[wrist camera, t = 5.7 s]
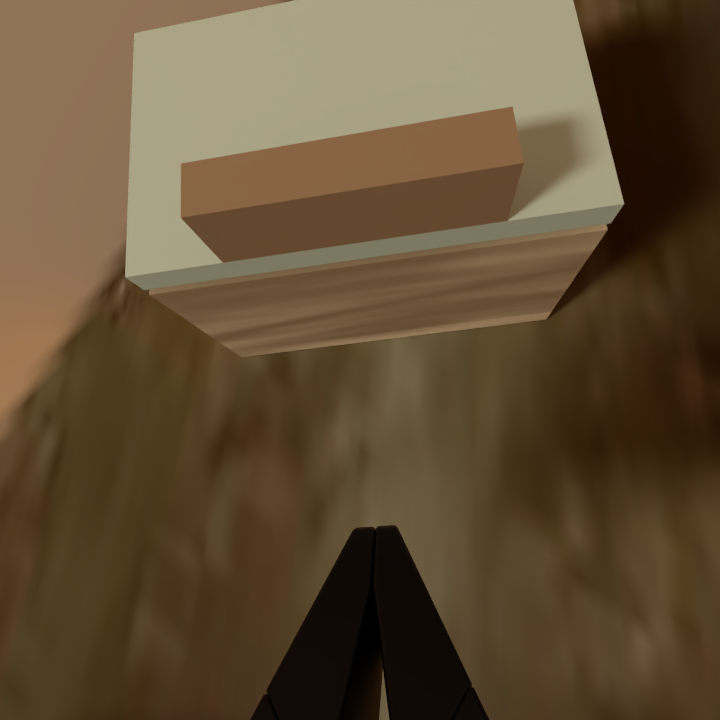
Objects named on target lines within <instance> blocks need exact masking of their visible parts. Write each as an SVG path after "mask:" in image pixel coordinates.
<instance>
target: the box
mask: <svg viewBox="0 0 720 720" xmlns="http://www.w3.org/2000/svg"><path fill="white" fill-rule="evenodd" d="M607 230H608V229H607V225H606V224H602V225H595V226H588V227H581V228H574V229H567V230H560V231H553V232H546V233H539V234H532V235H525V236H518V237H511V238H504V239H497V240H490V241H483V242H476V243H469V244H462V245H455V246H448V247H441V248H434V249H427V250H420V251H413V252H406V253H399V254H392V255H385V256H378V257H371V258H364V259H357V260H350V261H343V262H336V263H329V264H322V265H315V266H308V267H301V268H294V269H287V270H280V271H273V272H266V273H259V274H252V275H245V276H238V277H231V278H224V279H217V280H210V281H203V282H196V283H189V284H182V285H175V286H168V287H161V288H154V289H149V295H150V296H152V297H153V298H155V299H156V300H158V301H159V302H161V303H162V304H164V305H165V306H167V307H168V308H170V309H171V310H173V311H174V312H176V313H177V314H179V315H180V316H181V317H183V318H184V319H186V320H187V321H189V322H190V323H192V324H193V325H195V326H196V327H198V328H199V329H201V330H202V331H204V332H205V333H207V334H208V335H210V336H211V337H212V338H214V339H215V340H217V341H218V342H220V343H221V344H223V345H224V346H226V347H227V348H229V349H230V350H232V351H233V352H235V353H236V354H238V355H239V356H241V357H247V356H255V355H263V354H271V353H279V352H287V351H295V350H303V349H311V348H319V347H327V346H335V345H343V344H352V343H360V342H368V341H376V340H384V339H392V338H400V337H408V336H416V335H424V334H432V333H440V332H448V331H456V330H464V329H472V328H481V327H489V326H497V325H505V324H513V323H521V322H529V321H537V320H545V319H547V318H548V316H549V315H550V313H551V312H552V310H553V309H554V307H555V306H556V304H557V303H558V302H559V300H560V299H561V297H562V296H563V294H564V293H565V291H566V290H567V288H568V287H569V285H570V284H571V283H572V281H573V280H574V278H575V277H576V275H577V274H578V272H579V271H580V269H581V268H582V266H583V265H584V264H585V262H586V261H587V259H588V258H589V256H590V255H591V253H592V252H593V250H594V249H595V247H596V246H597V245H598V243H599V242H600V240H601V239H602V237H603V236H604V234H605V233H606V231H607Z"/></svg>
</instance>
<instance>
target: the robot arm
mask: <svg viewBox="0 0 720 720" xmlns="http://www.w3.org/2000/svg"><path fill="white" fill-rule="evenodd" d="M382 671H384V679H385V687H386V695H387V703H388V711H389V719H390V720H489V718H488V716H487V714H486V712H485V710H484V708H483V706H482V704H481V702H480V700H479V698H478V696H477V693H476V691H475V689H474V688H473V687H472V684H471V681H470V679H469V677H468V675H467V673H466V671H465V669H464V666H463V664H462V662H461V660H460V658H459V656H458V654H457V652H456V650H455V648H454V645H453V643H452V641H451V639H450V637H449V635H448V633H447V631H446V629H445V626H444V624H443V622H442V620H441V618H440V616H439V614H438V612H437V610H436V607H435V605H434V603H433V601H432V599H431V597H430V595H429V593H428V591H427V589H426V586H425V584H424V582H423V580H422V578H421V576H420V574H419V572H418V570H417V567H416V565H415V563H414V561H413V559H412V557H411V555H410V553H409V551H408V548H407V546H406V544H405V542H404V540H403V538H402V536H401V534H400V532H399V530H398V528H397V527H396V526H395V525H390V526H378V527H377V528H376V530H375V528H374V527H360V528H355V529H354V530H353V531H352V533H351V535H350V537H349V538H348V540H347V542H346V544H345V546H344V548H343V549H342V551H341V553H340V555H339V557H338V559H337V561H336V562H335V564H334V566H333V568H332V570H331V572H330V574H329V575H328V577H327V579H326V581H325V583H324V585H323V586H322V588H321V590H320V592H319V594H318V596H317V598H316V599H315V601H314V603H313V605H312V607H311V609H310V611H309V612H308V614H307V616H306V618H305V620H304V622H303V623H302V625H301V627H300V629H299V631H298V633H297V635H296V636H295V638H294V640H293V642H292V644H291V646H290V648H289V649H288V651H287V653H286V655H285V657H284V659H283V660H282V662H281V664H280V666H279V668H278V670H277V672H276V673H275V675H274V677H273V679H272V681H271V683H270V685H269V686H268V688H267V694H268V695H267V694H265V695H263V697H262V699H261V701H260V703H259V704H258V706H257V708H256V710H255V712H254V714H253V716H252V717H251V719H250V720H379V711H380V698H381V684H382Z"/></svg>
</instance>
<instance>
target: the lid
mask: <svg viewBox="0 0 720 720" xmlns="http://www.w3.org/2000/svg"><path fill="white" fill-rule="evenodd" d="M129 163H130V164H129V190H128V216H127V242H126V269H125V277H126V278H127V279H129V280H130V281H132V282H133V283H135V284H136V285H137V286H139V287H140V288H142V289H143V290H147V289H154V288H161V287H168V286H175V285H182V284H189V283H196V282H203V281H210V280H217V279H224V278H231V277H238V276H245V275H252V274H259V273H266V272H273V271H280V270H287V269H294V268H301V267H308V266H315V265H322V264H329V263H336V262H343V261H350V260H357V259H364V258H371V257H378V256H385V255H392V254H399V253H406V252H413V251H420V250H427V249H434V248H441V247H448V246H455V245H462V244H469V243H476V242H483V241H490V240H497V239H504V238H511V237H518V236H525V235H532V234H539V233H546V232H553V231H560V230H567V229H574V228H581V227H588V226H595V225H602V224H609V223H611V222H612V221H613V219H614V218H615V217H616V215H617V214H618V212H619V211H620V209H621V208H622V206H623V205H624V201H623V197H622V193H621V189H620V185H619V181H618V177H617V173H616V169H615V165H614V161H613V157H612V154H611V150H610V146H609V142H608V138H607V134H606V130H605V126H604V122H603V118H602V114H601V110H600V106H599V102H598V98H597V94H596V90H595V86H594V82H593V78H592V74H591V70H590V66H589V62H588V58H587V54H586V50H585V46H584V42H583V38H582V34H581V30H580V26H579V22H578V18H577V14H576V10H575V7H574V3H573V0H295V1H290V2H285V3H280V4H275V5H270V6H265V7H260V8H256V9H251V10H246V11H241V12H237V13H232V14H227V15H222V16H217V17H212V18H207V19H202V20H197V21H193V22H188V23H183V24H178V25H173V26H168V27H163V28H158V29H153V30H148V31H144V32H139V33H135V34H134V55H133V82H132V110H131V135H130V162H129Z"/></svg>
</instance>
